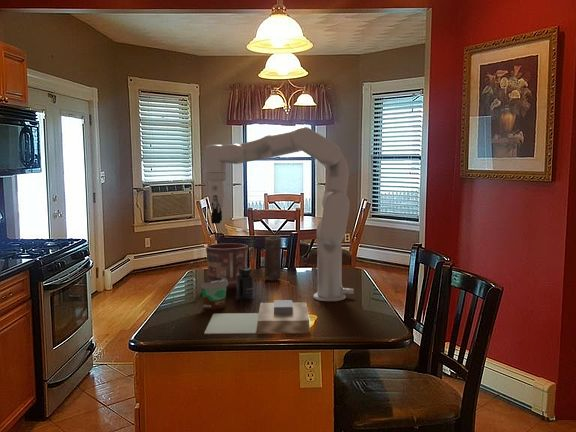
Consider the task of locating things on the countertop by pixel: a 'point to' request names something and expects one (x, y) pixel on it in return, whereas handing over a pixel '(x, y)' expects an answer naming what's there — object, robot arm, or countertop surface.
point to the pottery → (226, 262)
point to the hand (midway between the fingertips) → (216, 222)
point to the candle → (272, 258)
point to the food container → (214, 293)
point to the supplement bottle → (245, 285)
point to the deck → (283, 319)
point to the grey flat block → (283, 307)
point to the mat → (233, 323)
